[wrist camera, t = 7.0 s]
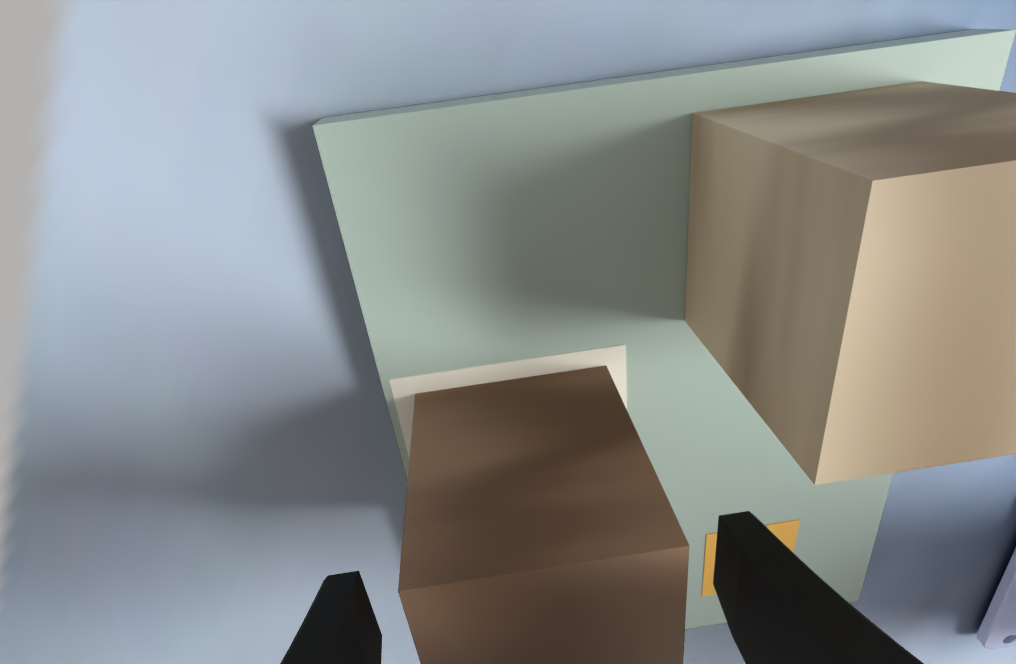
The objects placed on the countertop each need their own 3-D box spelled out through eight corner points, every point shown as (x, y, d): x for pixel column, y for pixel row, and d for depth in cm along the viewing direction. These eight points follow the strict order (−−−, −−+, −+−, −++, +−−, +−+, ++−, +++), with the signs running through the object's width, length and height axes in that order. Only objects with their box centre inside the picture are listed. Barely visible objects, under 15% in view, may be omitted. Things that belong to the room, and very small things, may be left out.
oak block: (922, 81, 11) (1265, 125, 7) (877, 292, 14) (1108, 439, 9) (692, 112, 11) (872, 180, 6) (684, 321, 13) (814, 484, 9)
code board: (974, 29, 12) (1017, 29, 11) (840, 576, 20) (858, 602, 19) (322, 117, 12) (312, 125, 11) (456, 637, 20) (456, 667, 19)
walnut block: (606, 365, 14) (689, 545, 9) (611, 505, 16) (680, 708, 11) (415, 393, 14) (398, 591, 9) (446, 530, 16) (446, 747, 11)
